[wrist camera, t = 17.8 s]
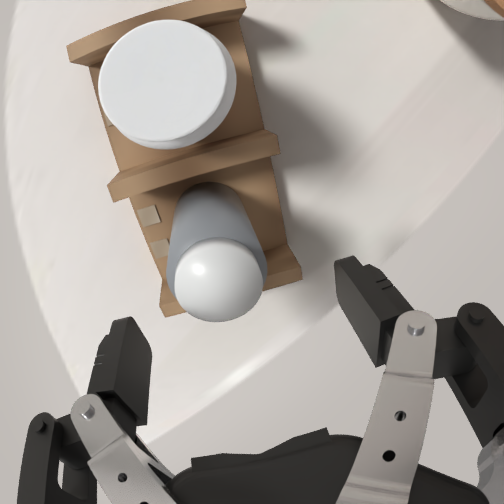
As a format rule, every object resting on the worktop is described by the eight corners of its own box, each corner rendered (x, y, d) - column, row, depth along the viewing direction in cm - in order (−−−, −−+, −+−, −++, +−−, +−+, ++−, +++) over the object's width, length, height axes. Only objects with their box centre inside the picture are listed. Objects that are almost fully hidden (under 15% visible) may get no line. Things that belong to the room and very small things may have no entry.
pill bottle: (209, 142, 17) (221, 181, 9) (123, 125, 16) (64, 153, 8) (235, 58, 15) (271, 24, 7) (147, 40, 13) (105, -6, 6)
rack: (232, 11, 14) (242, -9, 11) (285, 249, 23) (302, 279, 19) (90, 54, 14) (66, 45, 10) (168, 282, 22) (165, 317, 19)
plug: (250, 235, 21) (280, 313, 14) (186, 253, 20) (186, 338, 13) (234, 173, 18) (260, 225, 11) (165, 193, 18) (147, 257, 11)
